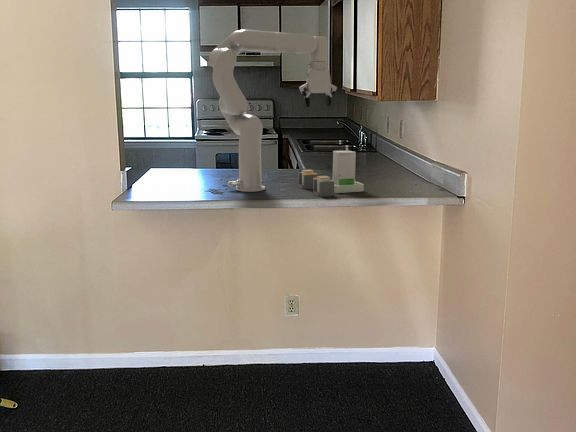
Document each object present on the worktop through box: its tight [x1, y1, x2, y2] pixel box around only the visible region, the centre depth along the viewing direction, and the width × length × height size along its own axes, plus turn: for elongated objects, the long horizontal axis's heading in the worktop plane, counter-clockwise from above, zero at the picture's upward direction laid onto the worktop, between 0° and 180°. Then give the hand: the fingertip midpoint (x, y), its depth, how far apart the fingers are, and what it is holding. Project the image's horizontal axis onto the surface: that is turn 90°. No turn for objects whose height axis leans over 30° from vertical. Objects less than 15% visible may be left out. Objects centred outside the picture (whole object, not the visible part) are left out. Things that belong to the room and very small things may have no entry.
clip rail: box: [297, 172, 335, 198], centre depth 259 cm, size 7×26×6 cm, turn 19°
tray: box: [330, 179, 365, 194], centre depth 262 cm, size 13×14×3 cm
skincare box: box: [331, 150, 357, 186], centre depth 261 cm, size 8×7×16 cm
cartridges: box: [301, 169, 331, 193], centre depth 259 cm, size 4×22×7 cm, turn 19°
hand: (318, 106), depth 268 cm, fingers open, 9 cm apart
